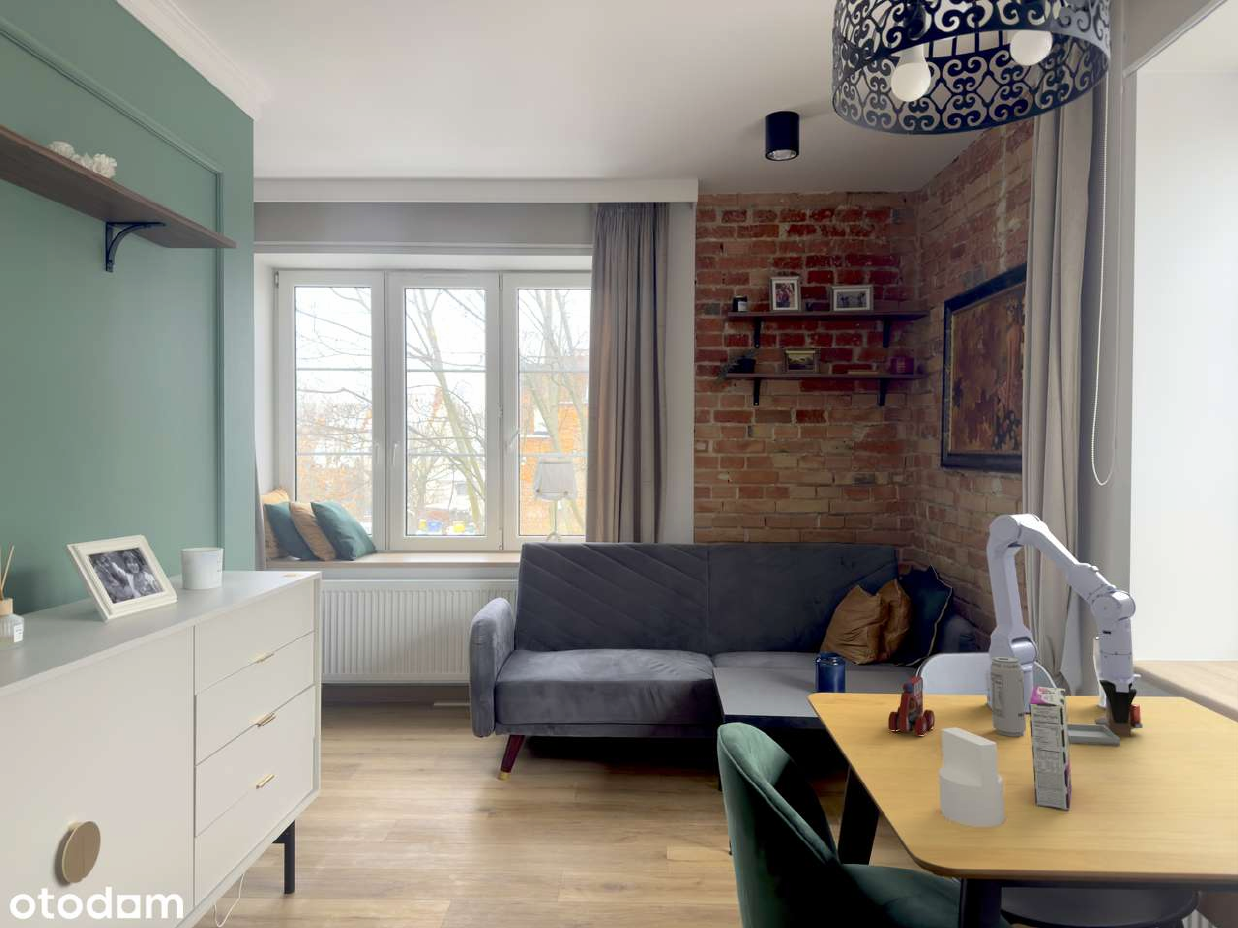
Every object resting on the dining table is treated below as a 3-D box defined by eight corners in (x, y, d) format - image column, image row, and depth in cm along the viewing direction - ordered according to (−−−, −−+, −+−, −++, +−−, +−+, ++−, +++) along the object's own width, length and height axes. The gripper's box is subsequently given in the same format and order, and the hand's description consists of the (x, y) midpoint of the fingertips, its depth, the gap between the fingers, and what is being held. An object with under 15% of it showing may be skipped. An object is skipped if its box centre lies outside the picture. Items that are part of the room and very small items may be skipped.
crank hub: (1101, 727, 159) (1101, 723, 159) (1091, 718, 166) (1090, 714, 166) (1140, 729, 157) (1140, 725, 157) (1128, 719, 164) (1127, 715, 164)
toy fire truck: (885, 735, 158) (882, 684, 159) (904, 720, 168) (902, 672, 168) (919, 741, 154) (917, 689, 154) (937, 726, 164) (935, 676, 164)
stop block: (1131, 736, 153) (1129, 703, 153) (1110, 734, 154) (1108, 701, 155) (1128, 731, 156) (1126, 699, 156) (1107, 729, 158) (1105, 697, 158)
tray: (1069, 742, 150) (1069, 735, 150) (1057, 729, 159) (1057, 722, 159) (1119, 745, 148) (1119, 738, 148) (1104, 731, 156) (1104, 724, 156)
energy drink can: (1028, 738, 154) (1025, 662, 154) (995, 736, 156) (992, 661, 156) (1023, 729, 160) (1019, 656, 160) (991, 727, 161) (988, 655, 162)
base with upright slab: (1018, 821, 116) (1014, 741, 117) (968, 830, 113) (964, 748, 114) (974, 799, 125) (971, 724, 125) (928, 807, 122) (924, 731, 123)
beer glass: (1088, 705, 175) (1085, 638, 176) (1108, 701, 178) (1104, 635, 179) (1119, 712, 169) (1115, 643, 170) (1139, 708, 172) (1135, 640, 173)
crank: (1102, 715, 163) (1101, 695, 163) (1117, 715, 163) (1116, 694, 163) (1131, 728, 154) (1130, 706, 154) (1146, 727, 154) (1145, 706, 154)
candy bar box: (1037, 782, 131) (1032, 685, 132) (1072, 787, 128) (1066, 688, 129) (1033, 805, 122) (1027, 700, 122) (1069, 812, 119) (1064, 704, 120)
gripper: (1145, 660, 148) (1149, 732, 147) (1133, 646, 161) (1136, 712, 160) (1102, 658, 151) (1106, 728, 150) (1093, 644, 164) (1097, 709, 163)
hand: (1119, 719), depth 155 cm, fingers closed on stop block, 4 cm apart
